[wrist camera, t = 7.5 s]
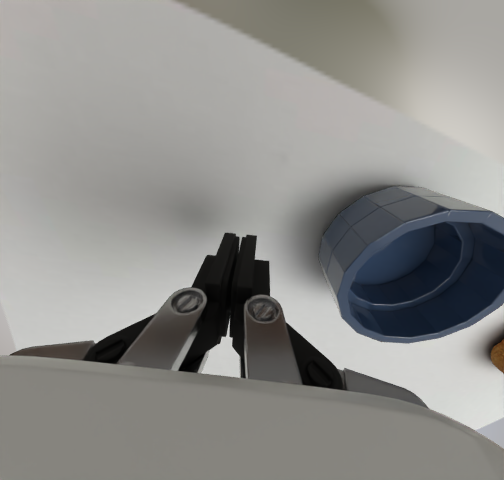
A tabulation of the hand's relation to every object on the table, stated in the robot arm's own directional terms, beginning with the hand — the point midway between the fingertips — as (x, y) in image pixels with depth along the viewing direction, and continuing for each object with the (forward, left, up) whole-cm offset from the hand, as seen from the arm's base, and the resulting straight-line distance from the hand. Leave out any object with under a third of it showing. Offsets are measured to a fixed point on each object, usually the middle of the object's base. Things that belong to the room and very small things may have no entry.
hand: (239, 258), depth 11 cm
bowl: (+1, +10, -5) cm, 11 cm away
